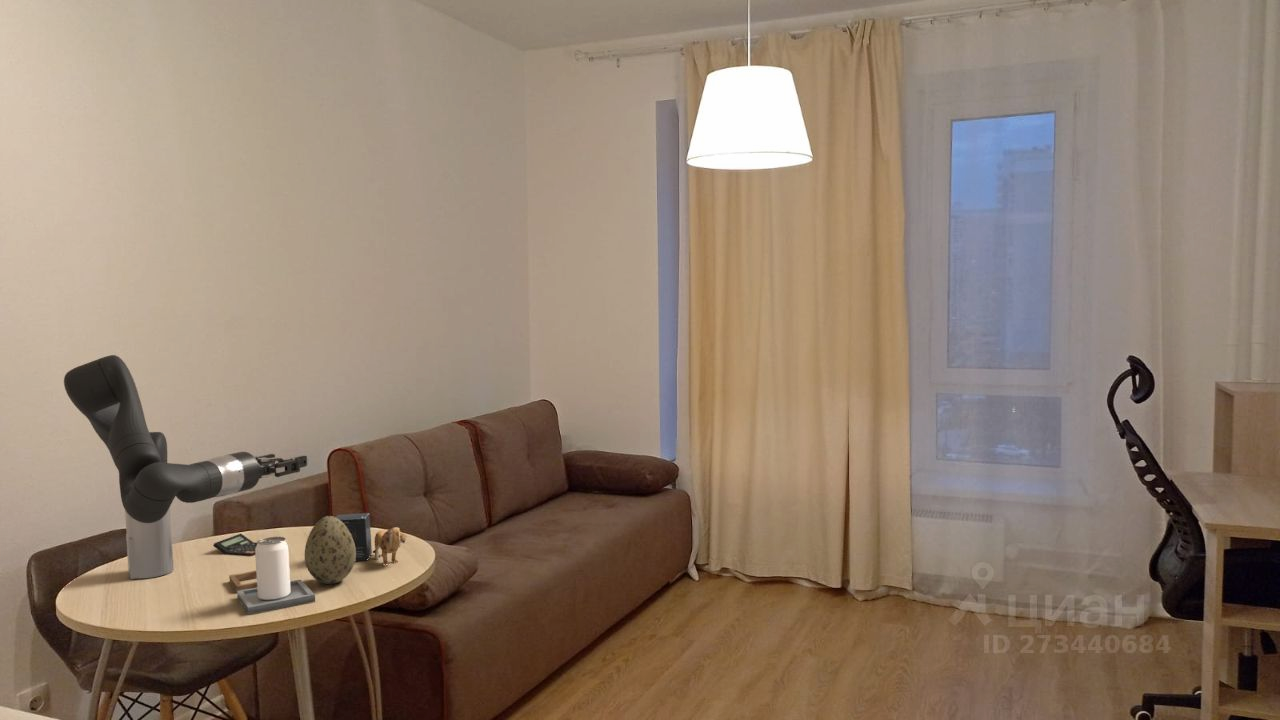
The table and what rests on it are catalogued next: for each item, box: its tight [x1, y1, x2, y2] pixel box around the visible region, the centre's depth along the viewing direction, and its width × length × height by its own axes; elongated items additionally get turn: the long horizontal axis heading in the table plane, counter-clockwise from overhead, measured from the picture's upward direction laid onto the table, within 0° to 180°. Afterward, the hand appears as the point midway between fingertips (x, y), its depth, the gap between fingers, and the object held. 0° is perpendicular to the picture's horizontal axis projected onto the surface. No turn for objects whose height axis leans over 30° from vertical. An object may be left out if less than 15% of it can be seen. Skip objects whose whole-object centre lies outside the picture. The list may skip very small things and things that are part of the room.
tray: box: [236, 579, 316, 616], centre depth 194 cm, size 13×13×2 cm
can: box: [254, 536, 291, 601], centre depth 193 cm, size 6×6×12 cm
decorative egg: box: [304, 515, 356, 585], centre depth 204 cm, size 11×11×15 cm
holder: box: [228, 570, 257, 593], centre depth 206 cm, size 10×10×2 cm
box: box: [335, 512, 373, 561], centre depth 223 cm, size 8×6×11 cm
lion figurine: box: [372, 526, 408, 565], centre depth 220 cm, size 15×5×9 cm, turn 42°
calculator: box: [213, 533, 257, 557], centre depth 234 cm, size 9×12×3 cm
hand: (289, 459), depth 190 cm, fingers open, 8 cm apart
